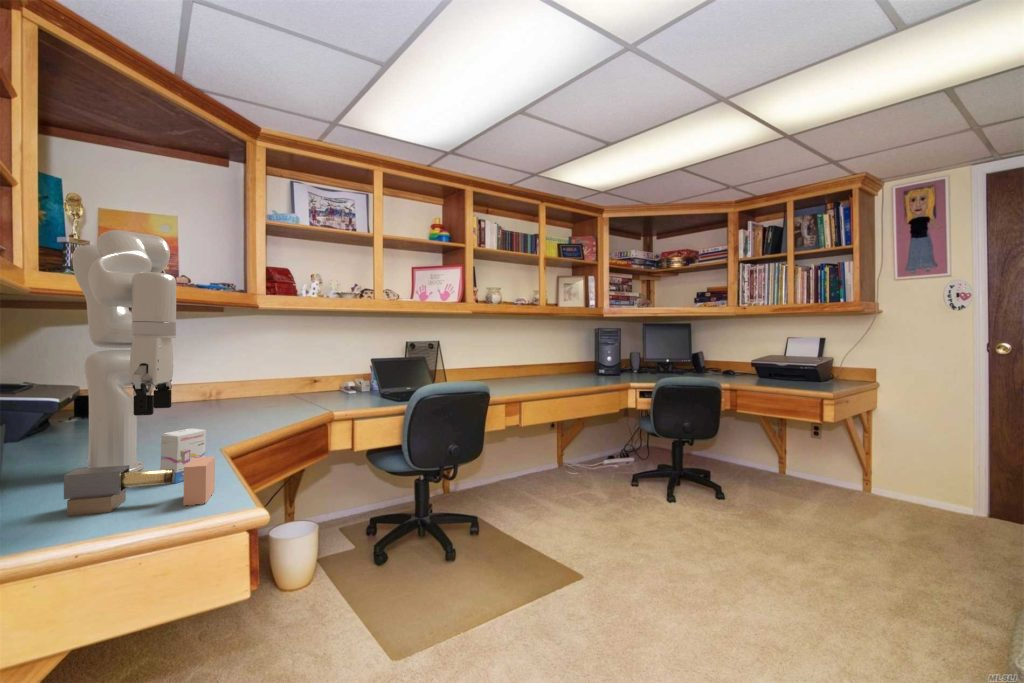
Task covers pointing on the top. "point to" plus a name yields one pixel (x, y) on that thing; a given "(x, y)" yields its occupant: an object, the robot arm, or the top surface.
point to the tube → (147, 477)
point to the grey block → (94, 490)
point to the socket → (199, 480)
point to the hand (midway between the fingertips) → (153, 411)
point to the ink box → (181, 450)
